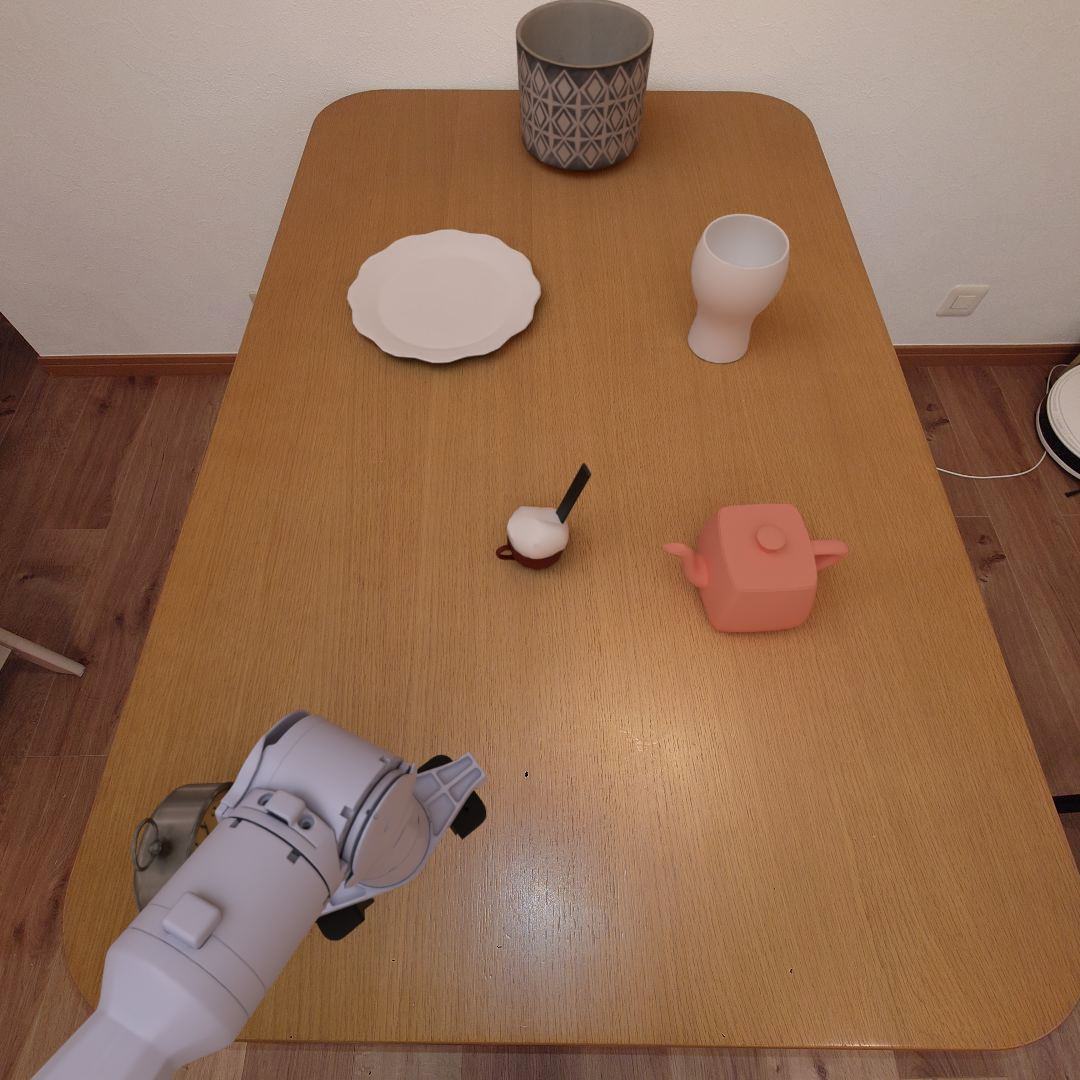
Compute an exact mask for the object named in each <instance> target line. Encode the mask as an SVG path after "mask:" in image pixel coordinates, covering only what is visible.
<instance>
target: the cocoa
mask: <svg viewBox="0 0 1080 1080" xmlns="http://www.w3.org/2000/svg"><path fill="white" fill-rule="evenodd" d="M591 477H592V472H591V470H590V469H589V467H588V466H587V464H586V463H585V462H582V463H581V465H580V467H579V469H578V470H577V472H576V474H575V476H574V478H573V480H572V481H571V483H570V485H569V486H568V489H567V491H566V492H565V494H564V496H563V498H562V499H561V502H560V503H559V506H558V507H557V508H555V507H552V506H548V507H547V506H546V507H544V506H543V507H539V506H531V505H529V506H525V505H524V506H523V505H521V506H519V507H518V508H517V509H516V510H514V512H512V514H511V517H510V518H509V519H508V521H507V525H506V542H507V543H506V544H504V545H501V546H499V547H498V548H497V549H496V550H495V556H496V557H497V558H498V559H499V560H502V561H515V562H516V563H518V564H519V565H521V566H522V567H524V568H525V569H531V570H535V571H537V570H538V571H539V570H543V569H548V568H549V567H551V566H552V565H554V564H556V563H557V562H558V561H559V560H560V558H561V555H563V552H564V551H565V548H566V547H567V544H568V542H569V539H570V538H569V537H570V536H569V535H570V533H569V532H570V529H569V523H568V520H567V518H568V516H569V515H570V513H571V511H572V510H573V508H574V506H575V505H576V503H577V501H578V499H579V498H580V496H581V494H582V492H583V491H584V489H585V487H586V486H587V484H588V481H589V480H590V478H591ZM505 551H509V552H510V553H511V554H503V553H504V552H505Z"/></svg>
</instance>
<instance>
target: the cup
mask: <svg viewBox="0 0 1080 1080" xmlns="http://www.w3.org/2000/svg"><path fill="white" fill-rule="evenodd" d="M790 250H791V247H790V239H789V238H788V236H787V234H786V232H785V231H784V230H783V229H782V228H781V227H780V226H779V225H778V224H776V223H775V222H773V221H771V219H767V218H765V217H762V216H759V215H755V214H751V213H732V214H726V215H723V216H720V217H717V218H716V219H714V220H712V221H711V222H710V223H709V224H708V225H707V226H706V227H705V229H704V230H703V232H702V234H701V237H700V238H699V240H698V242H697V245H696V246H695V249H694V252H693V256H692V260H691V265H690V277H691V286H692V292H693V294H694V297H695V299H696V303H697V307H696V309H697V310H696V315H695V317H694V319H693V322H692V323H691V326H690V328H689V332H688V334H687V344H688V347H689V349H690V350H691V351H692V353H693V354H695V356H697V357H699V358H701V359H702V360H704V361H706V362H711V363H714V364H729V363H733V362H736V361H738V360H739V359H741V358H742V357H744V356H745V354H746V353H747V352H748V349H749V344H750V339H751V330H752V325H753V323H754V321H755V320H756V318H757V316H758V315H759V314H760V313H762V312H763V311H764V310H766V309H767V308H768V306H769V305H770V304H771V302H772V301H773V300H774V298H775V297H776V296H777V294H778V293H779V292H780V291H781V289H782V287H783V284H784V281H785V278H786V277H787V272H788V269H789V263H790Z"/></svg>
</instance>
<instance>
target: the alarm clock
mask: <svg viewBox="0 0 1080 1080" xmlns="http://www.w3.org/2000/svg"><path fill="white" fill-rule="evenodd" d="M234 782H235V781H225V782H206V783H205V782H200V783H187V784H183V785H179V786H178V787H176V788H174V789H173V790H172V791H170V792H169V793H168V794H167V795H166V796H164V798H163V799H162V800H161V801H160V802H159V804H158V805H157V806H156V807H155V809H154V810H153V812H152V814H151V815H150V817H145V818H143V819H142V820H141V821H140V822H139V823H138V825H136V827H135V830H134V833H133V837H132V842H131V848H130V857H131V863H132V866H133V868H134V869H133V897H134V903H135V908H136V912H137V916H138V915H139V914H140V913H141V911H142V910H143V909H144V908H145V907H146V906H147V904H148V903H149V902H150V901H151V900H152V899H153V898H154V897H155V895H156V894H157V893H158V892H159V891H160V890H161V889H162V887H163V886H164V885H165V884H166V883H167V882H168V881H169V880H170V878H171V877H172V876H173V875H174V874H175V873H176V872H177V870H178V869H179V868H180V867H181V866H182V865H183V864H184V862H185V861H186V860H187V859H188V858H189V857H190V856H191V855H192V853H193V852H194V851H195V850H196V849H197V848H198V847H199V845H200V844H201V843H202V842H203V841H204V840H205V839H206V838H207V836H208V835H209V834H210V833H211V832H212V831H213V830H214V828H215V827H216V826H217V825H218V822H217V819H216V815H215V810H216V809H217V808H218V806H219V805H220V803H221V800H222V799H223V798H224V796H225V795H226V794H227V793H228V792H229V790H230V789H231V787H232V786H233V784H234ZM144 826H145V827H144ZM143 827H144V829H143ZM142 829H143V832H142V834H141V836H140V841H139V843H138V839H139V835H140V833H141V831H142ZM137 846H138V848H137Z"/></svg>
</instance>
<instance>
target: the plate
mask: <svg viewBox="0 0 1080 1080" xmlns="http://www.w3.org/2000/svg"><path fill="white" fill-rule="evenodd" d="M541 289H542V287H541V283H540V282H539V279H538V278H537V277H536V275H535V274H534V270H533V267H532V262H531V261H530V259H528V257H527V256H526V255H525V254H524V253H522V252H521V251H518V250H516V249H514V248H512V247H510V246H509V245H507V244H506V243H505V242H504V241H503V240H501V239H500V238H498V237H496V236H493V235H490V234H487V233H471V232H467V231H463V230H459V229H437V230H434V231H431V232H428V233H423V234H414V235H413V234H411V235H408V236H405V237H402V238H400V239H397V240H394V241H393V242H392V243H391V244H389V245H388V246H387V247H386V248H384V249H383V250H381V251H379V252H377V253H374V254H373V255H370V256H369V257H368V258H367V259H366V260H365V261H364V262H363V263H362V264H361V265H360V268H359V271H358V273H357V277H356V278H355V279H354V281H353V282H352V283H351V285H350V286H349V287H348V290H347V297H346V300H347V303H348V304H349V306H350V309H351V313H352V315H351V316H352V318H351V319H352V325H353V326H354V328H355V329H356V331H357V332H358V334H360V335H362V336H364V337H365V338H367V339H369V340H370V341H372V342H374V344H375V345H376V346H377V347H378V348H379V349H380V350H381V351H382V352H383V353H385V354H387V355H390V356H392V357H395V358H401V359H403V358H404V359H416V360H419V361H423V362H426V363H429V364H432V365H433V364H435V365H436V364H437V365H438V364H451V363H454V362H456V361H460V360H463V359H465V358H475V357H483V356H487V355H489V354H491V353H493V352H496V351H498V350H500V349H501V348H502V347H503V346H504V345H505V344H506V343H507V342H508V341H509V340H510V339H511V338H513V337H516V335H518V334H519V333H522V332H523V331H525V330H526V329H527V328H528V326H529V325H530V324H531V322H532V321H533V319H534V312H535V307H536V305H537V303H538V301H539V299H540V298H541V295H542V290H541Z"/></svg>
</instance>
